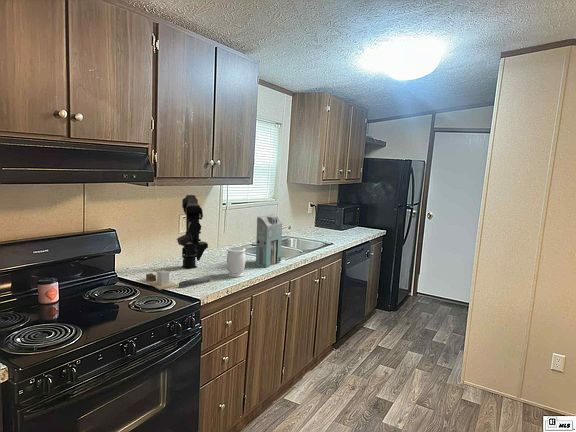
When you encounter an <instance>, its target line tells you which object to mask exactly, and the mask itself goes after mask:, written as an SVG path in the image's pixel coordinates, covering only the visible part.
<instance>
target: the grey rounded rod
mask: <svg viewBox="0 0 576 432" xmlns="http://www.w3.org/2000/svg"><path fill="white" fill-rule="evenodd" d="M210 280H211V277H210V276H208V275H205V276H202V277H196V278H192V279H187V280H183V281H179V282H178V287H179V288H180V289H181V288H187V287H190V286H191V285H192V286H195V285H200V283H201V284H205V283H209V282H210ZM204 282H205V283H204Z"/></svg>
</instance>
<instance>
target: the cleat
mask: <svg viewBox="0 0 576 432" xmlns="http://www.w3.org/2000/svg"><path fill="white" fill-rule="evenodd" d="M145 278H146V279H145V280H146V281H148V282H153V281H157V274H154V273H152V272H151V273H150V272H149V273H146V274H145Z"/></svg>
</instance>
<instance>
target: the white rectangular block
mask: <svg viewBox="0 0 576 432" xmlns="http://www.w3.org/2000/svg"><path fill="white" fill-rule="evenodd" d="M169 280H170V272H169V271H167V270H160V271H159V270H158V271H156V281H157V283H158V284H160V285H167V284H169Z"/></svg>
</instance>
